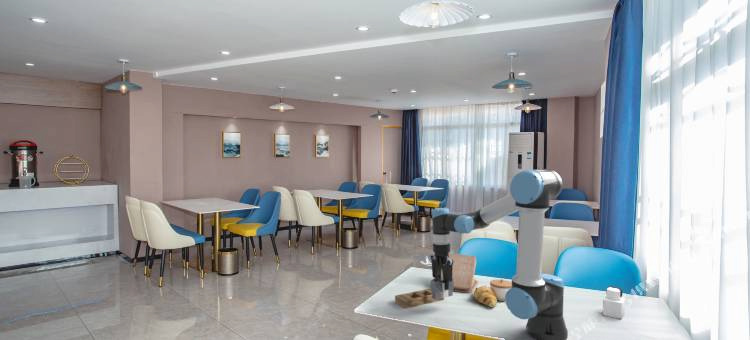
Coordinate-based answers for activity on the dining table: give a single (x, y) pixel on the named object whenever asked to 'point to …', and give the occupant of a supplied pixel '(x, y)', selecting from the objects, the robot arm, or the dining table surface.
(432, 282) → the grey bridge block
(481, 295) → the croissant
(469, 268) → the case
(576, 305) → the dining table surface
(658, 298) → the dining table surface
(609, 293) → the medicine bottle
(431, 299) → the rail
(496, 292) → the lidded jar
